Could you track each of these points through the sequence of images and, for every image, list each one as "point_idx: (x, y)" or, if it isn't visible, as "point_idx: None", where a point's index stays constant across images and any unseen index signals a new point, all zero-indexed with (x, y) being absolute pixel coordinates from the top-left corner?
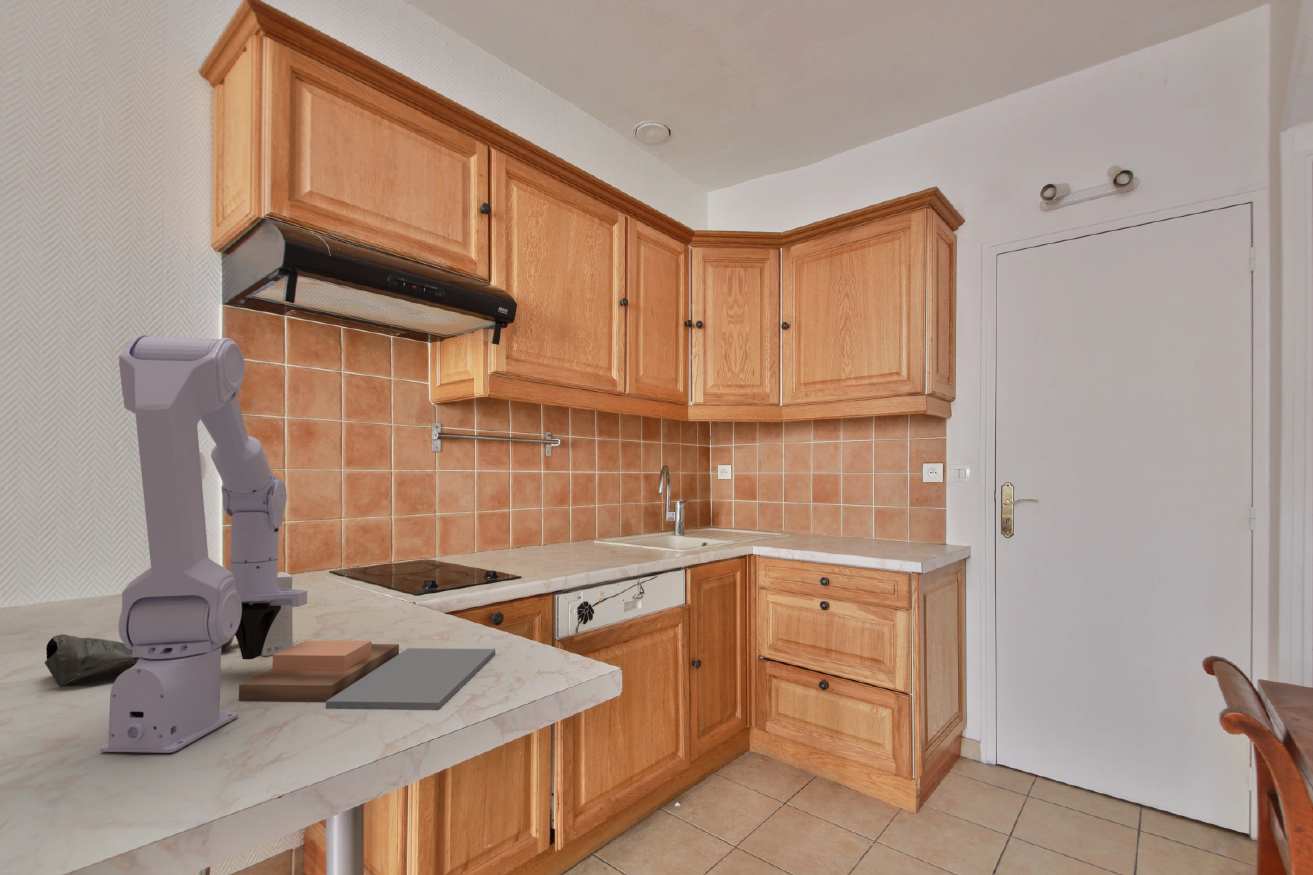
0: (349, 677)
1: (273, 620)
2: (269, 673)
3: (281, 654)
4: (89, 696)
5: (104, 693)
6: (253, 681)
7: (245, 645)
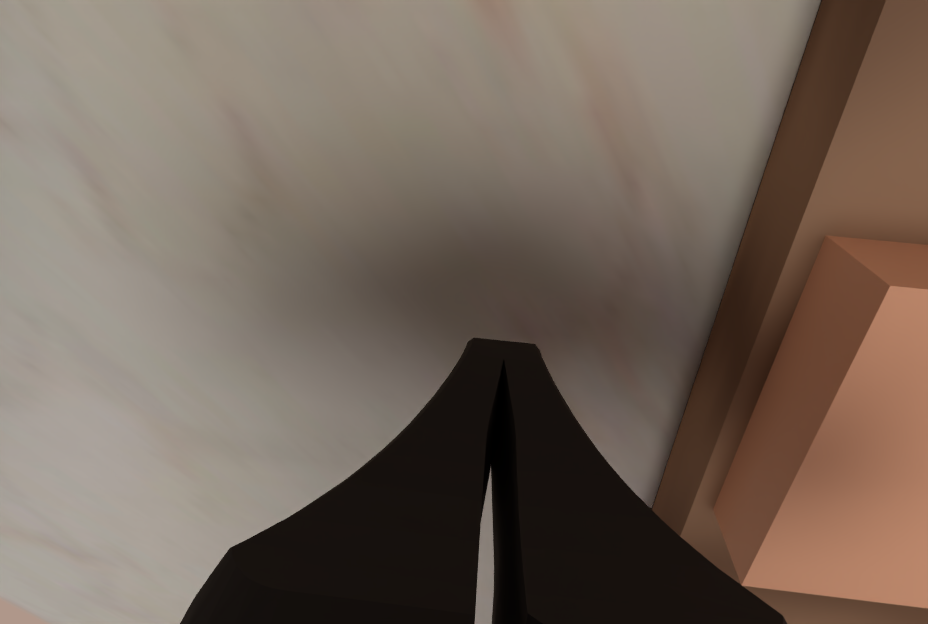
0: None
1: (654, 517)
2: (719, 548)
3: (796, 582)
4: (5, 481)
5: (22, 460)
6: None
7: (484, 500)
